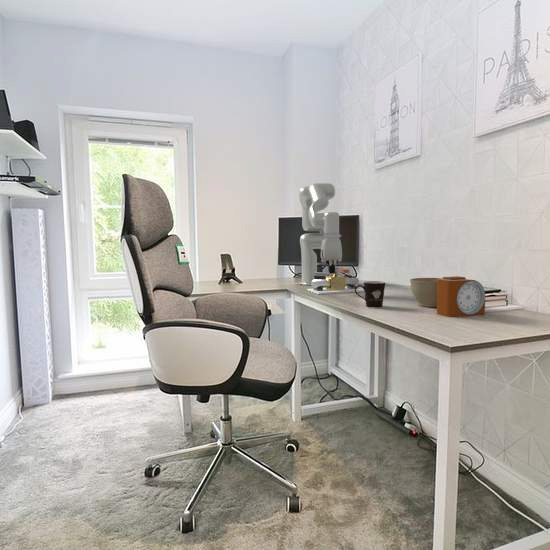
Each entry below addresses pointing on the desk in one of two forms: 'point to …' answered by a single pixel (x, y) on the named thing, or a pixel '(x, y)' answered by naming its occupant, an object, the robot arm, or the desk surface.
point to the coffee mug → (373, 293)
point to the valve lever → (342, 270)
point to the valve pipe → (334, 283)
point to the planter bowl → (425, 291)
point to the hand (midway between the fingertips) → (331, 273)
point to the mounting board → (336, 291)
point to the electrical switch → (320, 275)
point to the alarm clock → (460, 297)
